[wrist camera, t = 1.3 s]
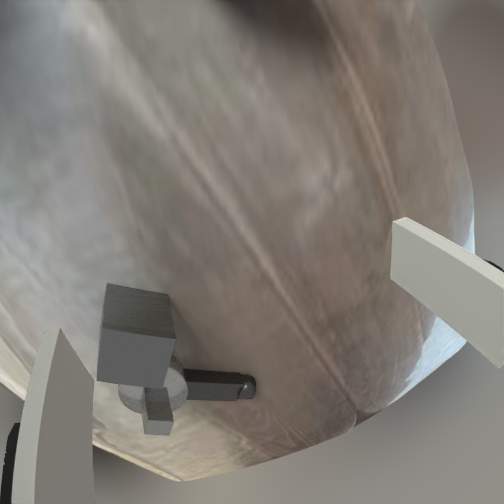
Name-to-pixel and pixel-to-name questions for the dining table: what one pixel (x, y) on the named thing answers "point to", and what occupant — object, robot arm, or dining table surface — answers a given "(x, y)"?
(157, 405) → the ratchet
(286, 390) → the dining table surface
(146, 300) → the dark grey cube
